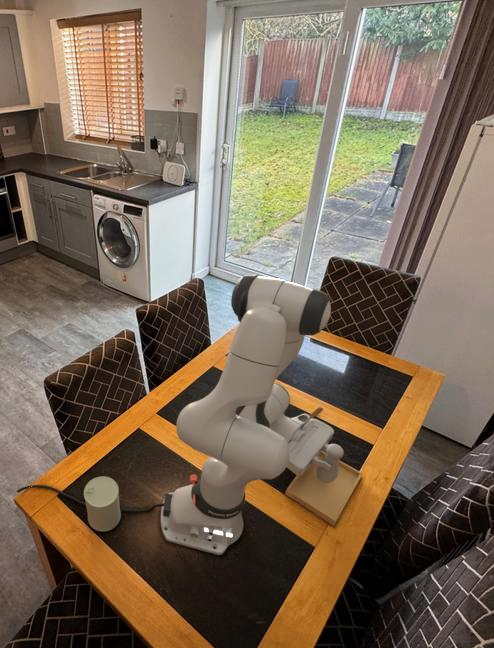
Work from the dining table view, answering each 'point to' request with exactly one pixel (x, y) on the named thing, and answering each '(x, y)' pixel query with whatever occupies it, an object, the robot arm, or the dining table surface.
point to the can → (102, 503)
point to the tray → (324, 491)
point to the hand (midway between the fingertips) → (334, 462)
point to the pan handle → (316, 412)
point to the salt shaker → (332, 457)
